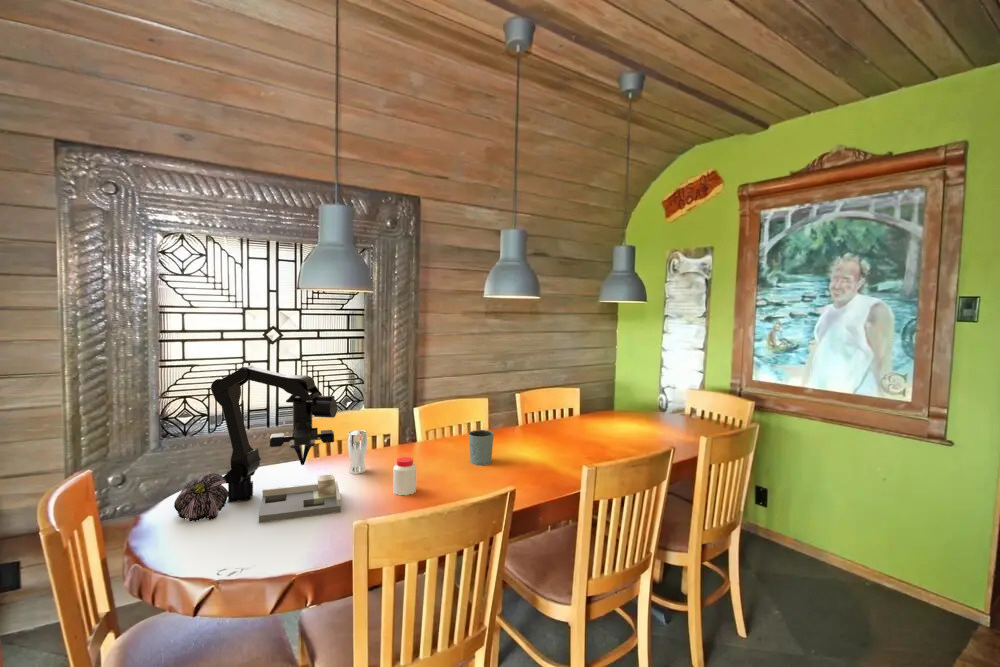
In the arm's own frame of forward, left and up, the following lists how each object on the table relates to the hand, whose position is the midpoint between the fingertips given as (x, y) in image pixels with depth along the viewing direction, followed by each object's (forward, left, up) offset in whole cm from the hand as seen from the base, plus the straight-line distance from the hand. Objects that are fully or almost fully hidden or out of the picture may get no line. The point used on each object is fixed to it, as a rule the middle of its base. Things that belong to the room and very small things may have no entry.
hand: (302, 464), depth 157 cm
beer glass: (+19, +23, -12) cm, 32 cm away
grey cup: (+67, +19, -12) cm, 71 cm away
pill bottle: (+32, -2, -12) cm, 34 cm away
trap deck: (0, -4, -12) cm, 13 cm away
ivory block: (+7, 0, -10) cm, 12 cm away
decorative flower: (-28, 0, -12) cm, 30 cm away
